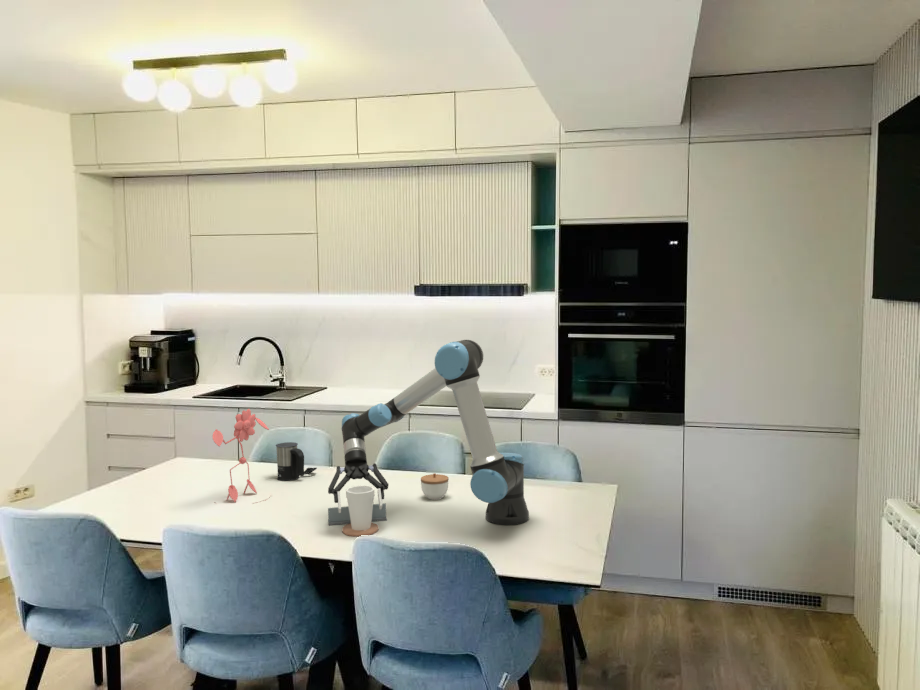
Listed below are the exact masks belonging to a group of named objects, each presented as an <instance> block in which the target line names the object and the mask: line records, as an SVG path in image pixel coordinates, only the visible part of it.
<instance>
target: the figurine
mask: <svg viewBox="0 0 920 690" xmlns="http://www.w3.org/2000/svg"><path fill="white" fill-rule="evenodd" d="M235 420H236V423H235V424H234V426H233V427H234V430H233V438H231V439H229V440H228V441H225V440H224V435H223V433H222V432H221V430H218V429H216V428H215V430H214V431H213V433H212V440H213V443H215V444H216V446H218V447H219V448H220V447H221V446H222V443H223V444H225V445H227V444H228V443H230V442H232V441H234V440H235V439H236V440H237V441H238V443H239V445H240V449H241V454H242V456H241V457H240V458H239V459H238V462H239V463H237V464H236V465H234V466H233V467H232V468H230V469H229V476H230V485H229V486H228V494H227V497H226V500H227V501H228V500H229V497H230V499H231V500H232V501H233V502H234V503H236V502H237V500H238V497H239V493H238V490H237V488H236V486H235V485H233V478H232V470H233V469H234V468H236V467H237V466H239V465H240V464H241V465H244V464H247V475H248V478H247V479H246V486H245V489H244V491H243V493H242V494H243V495H245V493H246V491H247V489H248V486H249V488H250V490H251V491H252V492H254V493H255V494H256V495H257V494H258V492H257V489H256V487H255V486H254V483H252V481H251V480H250V467H249V465H250V464H249V463H248V461H247V458H246V457H245V456H244V449H243V448H244V447H243V444H242V442H243V441H248V440H249V438H250V436H253V435H254V434H255V433H256V430H255V429H254V427H255V426H256V424H257V423H258V425H260V426H261V427H262V428H263V429H265V430H267V431H269V430H270V428H269V427H268V426H267V424H265V422H264V421H262V420H261V419H260V418H258V417H256V414H255V413H253V414H252V411H251V409H250V408H248V409H246V410H245V409H244V410H242V411H241V414H240V413H238V414H237V413H236V415H235ZM256 422H257V423H256ZM270 497H272V495H270V496H269V498H266V499H263V500H261V501H258V502H255V504H257V503H261V502H264V501H267V500H268V499H270ZM214 504H216V502H214ZM251 504H252V505H253V504H254V502H252V503H251Z"/></svg>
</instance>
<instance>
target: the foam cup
mask: <svg viewBox="0 0 920 690" xmlns="http://www.w3.org/2000/svg"><path fill="white" fill-rule="evenodd" d="M375 493H376V492H375V486H370V485H353V486H351V487H347V488H346V489H345V496H346V497H345V498H346V500H347V501H346V502H347V506H348V507H349V513H350V520H351V526H352V529H353V530H367V529H369V528H370V527H371V520H372V510H373V504H374V501H375V500H374V499H375V495H376V494H375Z"/></svg>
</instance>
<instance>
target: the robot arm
mask: <svg viewBox="0 0 920 690" xmlns="http://www.w3.org/2000/svg"><path fill="white" fill-rule="evenodd" d="M483 362H484V352H483V349H482V347H481V346H480V345H479V344H478V343H477V342H476V341H474V340H471V339H461V340H458V341H451V342H449V343H446V344H444V345H442V346H441V347H440V348H439V349H438V350H437V352H436V353H435V356H434V368H433V369H432V370H430V371H429V372H428V373H426V374H425V375H424V376H423V377H420V378H419V379H418V380H417V381H416V382H414V383H412V384H411V385H410V386H408V387H407V388H406V389H404V390H402V392H400V393H399V394H397V395H396V396H395V397H393V398H392V399H391V400H390V399H389V401H388V402H385V403H384V404H383V403H381V402H380V403H378V404H376V405H373V406H371V407H370V408H369V409H367V410H366V411H364V412H362V413H361V414H358V413H354V412H351V413H350V414H346V415H344V416H343V418H342V420H341V435H342V441H343V453H344V454H343V455H344V466H343V467H341V466H340V465H337V466H336V471H335V472H334V473H335V474H334V476H333V478H332V480H331V482H330V485H329V486H328V487H327V488H328V489H327V493H328V494H329V495H331V494H332V495H333V501H334V504H337V507H338V511H339V513H341V507H342V503H341V490H342V489H343V488H344V487H345V485H346V484H347V483H348V482H349V481H350V480H351V479H352V480H362V479H364V480H366V481H368V482H369V484H371V485H372V487H374V488H376V489H377V498H378V504H379V509H382V504H383V501H382V500H384V499H385V490H388V489H389V482H387V480H386V478H385V477H384V476H383V474H382V473H381V471H380V470H379V469H378V465H377V464H376V463H373V464H370V465H369V464H368V461H367V452H366V451H367V450H366V443H365V440H366V439H365V437H366V436H368V435H369V434H372V433H373V432H375V431H376V430H378V429H381V428H383V427H386V426H388V425H391V424H394V423H397V422H400V421H401V420H403V419H404V418H405V416H406V415H408V414H409V413H410V412H411V411H413V410H415V409H416V408H417V407H419V406H420V405H421V404H423V403H425V402H426V401H427V400H429V399H431V397H433V396H435V395H436V394H438V393H439V392H440V391H441V390H443V389H445V388H449V389H451V390H452V393H453V397H454V400H455V403H456V406H457V410H458V414H459V416H460V420H461V424H462V427H463V431H464V435H465V437H466V441H467V444H468V447H469V448H468V449H469V451H470V453H471V458H472V460H471V462H470V464H469V467H470V470H471V474H472V476H471V479H470V483H469V484H470V485H469V486H470V489H471V492H472V493H473V496H475V498H477V500H479V501H480V502H481V501H482V502H484V503H487V507H486V510H485V520H486V521H488V522H489V523H492V524H495V525H502V526H505V525H507V526H510V525H511V526H515V525H520V524H524V523H526V522H528V521H529V519H530V512H529V509H528V505H527V503H526V500H525V496H524V494H525V493H524V492H525V490H524V489H525V485H524V484H525V482H524V481H525V480H524V475H525V469H524V466H525V463H524V457H523V455H522V454H519V453H517V452H516V453H515V452H499V451H498V449H497V446H496V442H495V439H494V436H493V431H492V429H491V425H490V421H489V417H488V415H487V413H486V409H485V406H484V402H483V399H482V395H481V392H480V391H481V390H480V388H479V385H478V381H479V379H480V376H481V375H480V371H479V369H480V367H481V366H482V364H483ZM369 471H370V472H371V473H373V475H374V476H375V477H376V478H375V477H374V476H373V475H372V474H370V472H369ZM343 472H344V473H345V476H344V477H343V478H342V479H341V480H340V482H339V483H338V484H337V482H338V480H339V479H340V476H341V474H343Z"/></svg>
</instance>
